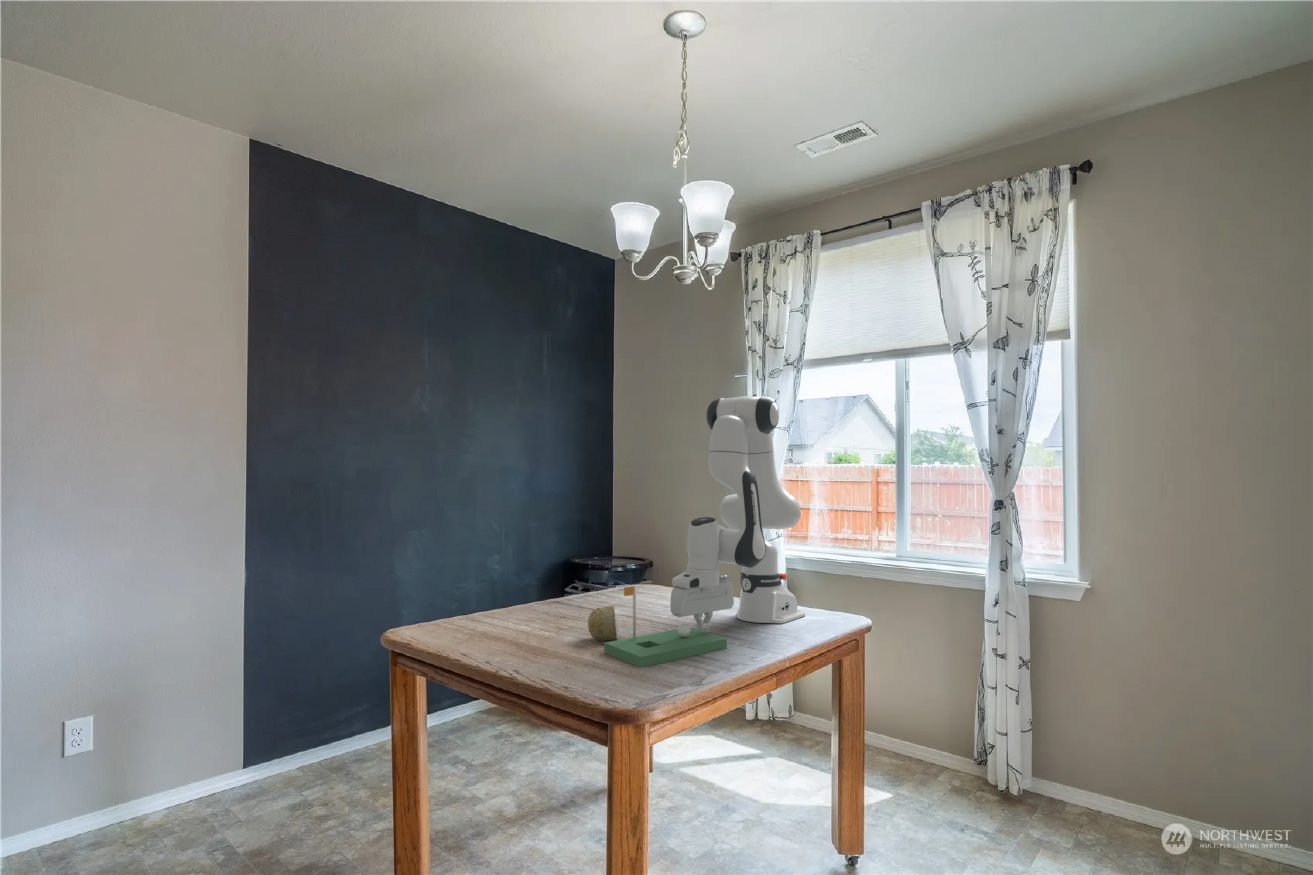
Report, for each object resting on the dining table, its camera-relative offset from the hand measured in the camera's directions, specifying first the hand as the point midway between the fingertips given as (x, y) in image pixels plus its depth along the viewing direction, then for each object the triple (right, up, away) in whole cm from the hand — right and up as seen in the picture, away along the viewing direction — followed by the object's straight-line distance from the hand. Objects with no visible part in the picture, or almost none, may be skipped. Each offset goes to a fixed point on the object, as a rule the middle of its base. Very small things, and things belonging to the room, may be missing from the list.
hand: (703, 628), depth 187 cm
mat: (-10, -3, -8) cm, 13 cm away
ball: (-5, +1, -4) cm, 7 cm away
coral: (-27, -4, +3) cm, 28 cm away
